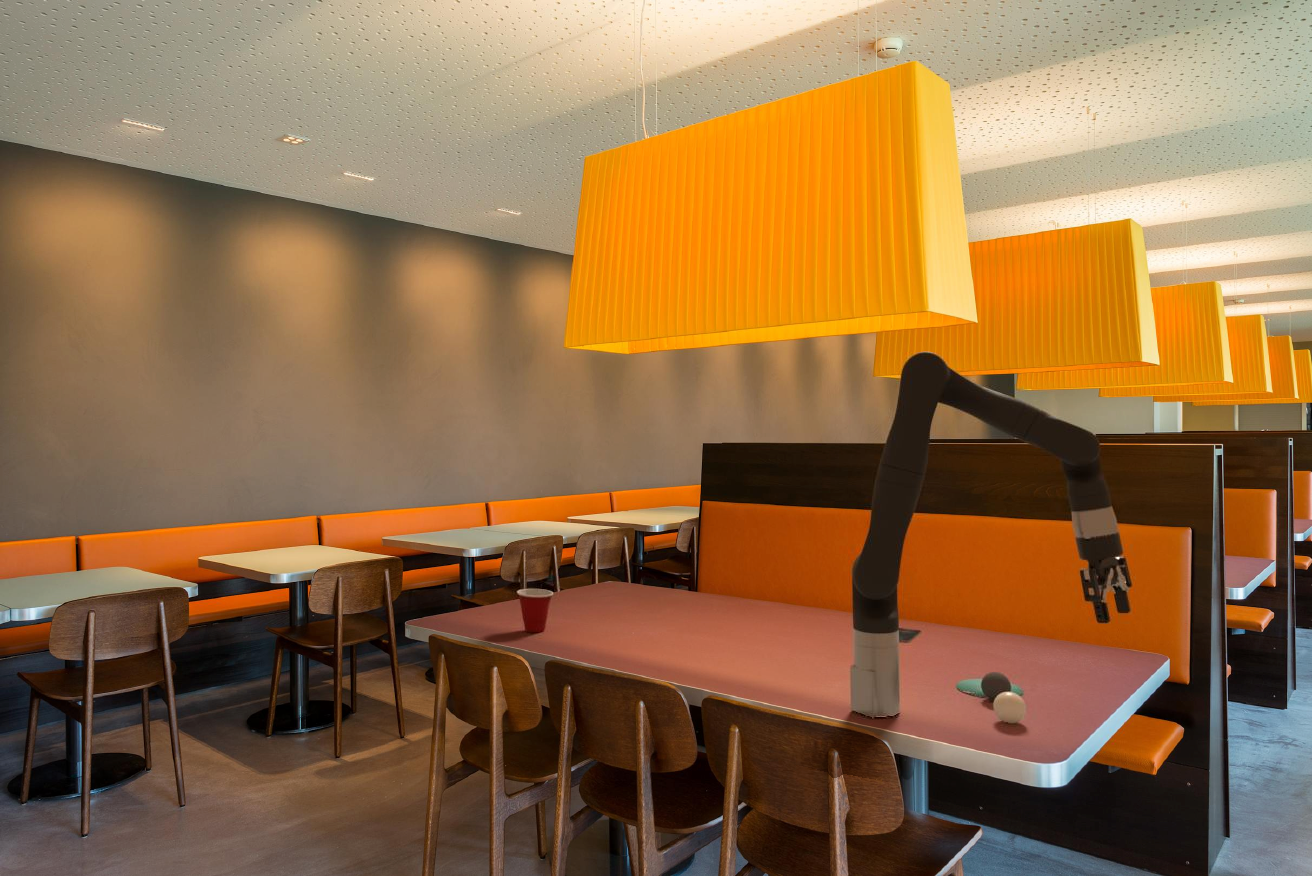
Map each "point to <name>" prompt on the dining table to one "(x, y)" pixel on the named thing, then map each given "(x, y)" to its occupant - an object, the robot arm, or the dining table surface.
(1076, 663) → the dining table surface
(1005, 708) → the cue ball
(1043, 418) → the robot arm
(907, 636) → the smartphone
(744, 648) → the dining table surface
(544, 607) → the plastic cup
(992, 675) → the object ball
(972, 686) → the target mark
